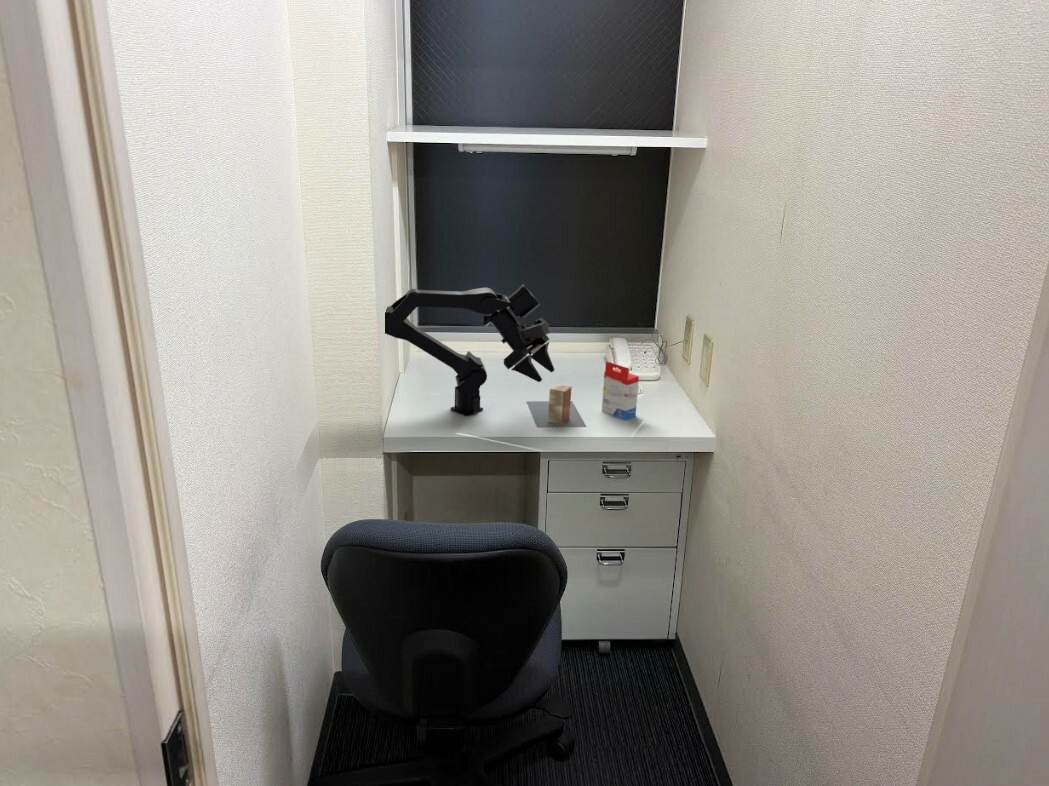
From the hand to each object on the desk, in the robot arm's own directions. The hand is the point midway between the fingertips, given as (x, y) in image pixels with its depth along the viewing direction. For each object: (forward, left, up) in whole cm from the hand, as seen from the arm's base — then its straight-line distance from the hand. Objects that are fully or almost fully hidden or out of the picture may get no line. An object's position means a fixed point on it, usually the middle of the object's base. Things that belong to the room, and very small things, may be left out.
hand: (547, 376), depth 205 cm
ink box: (+12, +17, -12) cm, 24 cm away
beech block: (+4, +1, -11) cm, 12 cm away
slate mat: (0, +4, -12) cm, 13 cm away
